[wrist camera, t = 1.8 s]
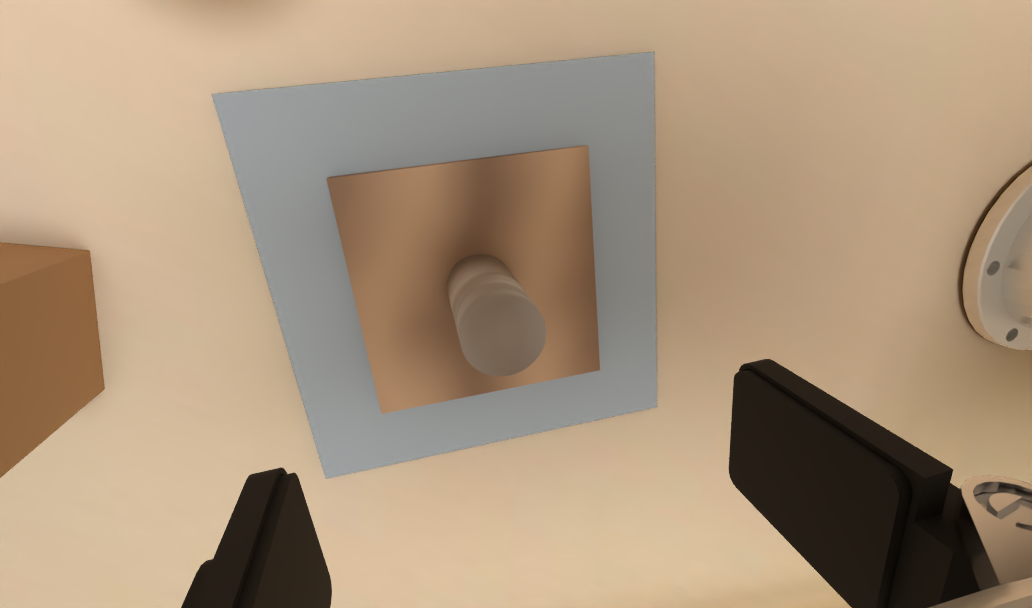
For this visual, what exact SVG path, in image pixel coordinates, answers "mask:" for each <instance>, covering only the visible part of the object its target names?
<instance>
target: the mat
mask: <svg viewBox="0 0 1032 608" xmlns="http://www.w3.org/2000/svg"><path fill="white" fill-rule="evenodd" d="M212 97H213V101H214V104H215V107H216V111H217V114H218V117H219V121H220V124H221V128H222V131H223V134H224V138H225V141H226V144H227V148H228V151H229V154H230V158H231V161H232V165H233V168H234V171H235V175H236V178H237V181H238V185H239V188H240V192H241V195H242V198H243V202H244V205H245V208H246V212H247V215H248V218H249V222H250V225H251V229H252V232H253V235H254V239H255V242H256V245H257V249H258V252H259V256H260V259H261V262H262V266H263V269H264V272H265V276H266V279H267V282H268V286H269V289H270V293H271V296H272V299H273V303H274V306H275V309H276V313H277V316H278V320H279V323H280V326H281V330H282V333H283V336H284V340H285V343H286V347H287V350H288V353H289V357H290V360H291V363H292V367H293V370H294V373H295V377H296V380H297V384H298V387H299V390H300V394H301V397H302V400H303V404H304V407H305V411H306V414H307V417H308V421H309V424H310V427H311V431H312V434H313V437H314V441H315V444H316V448H317V451H318V454H319V458H320V461H321V464H322V468H323V471H324V475H325V478H326V479H328V478H332V477H337V476H342V475H346V474H351V473H355V472H360V471H365V470H369V469H374V468H378V467H383V466H388V465H392V464H397V463H402V462H406V461H411V460H415V459H420V458H425V457H429V456H434V455H438V454H443V453H448V452H452V451H457V450H462V449H466V448H471V447H475V446H480V445H485V444H489V443H494V442H499V441H503V440H508V439H512V438H517V437H522V436H526V435H531V434H535V433H540V432H545V431H549V430H554V429H559V428H563V427H568V426H572V425H577V424H582V423H586V422H591V421H595V420H600V419H605V418H609V417H614V416H619V415H623V414H628V413H632V412H637V411H642V410H646V409H651V408H655V407H657V354H656V210H655V67H654V52H647V53H636V54H626V55H616V56H605V57H595V58H584V59H574V60H563V61H553V62H542V63H532V64H522V65H511V66H501V67H490V68H480V69H469V70H459V71H449V72H438V73H428V74H417V75H407V76H396V77H386V78H376V79H365V80H355V81H344V82H334V83H323V84H313V85H302V86H292V87H282V88H271V89H261V90H250V91H240V92H229V93H219V94H212ZM581 145H585V146H589V165H590V185H591V204H592V223H593V242H594V261H595V281H596V300H597V319H598V338H599V357H600V370H599V371H594V372H589V373H584V374H579V375H574V376H569V377H564V378H559V379H554V380H549V381H544V382H539V383H534V384H529V385H524V386H519V387H514V388H509V389H504V390H499V391H494V392H489V393H484V394H479V395H474V396H469V397H464V398H459V399H454V400H449V401H444V402H439V403H434V404H429V405H424V406H419V407H414V408H409V409H404V410H399V411H394V412H389V413H384V414H381V410H380V405H379V401H378V397H377V393H376V388H375V384H374V380H373V375H372V371H371V367H370V363H369V358H368V354H367V350H366V346H365V341H364V337H363V333H362V329H361V324H360V320H359V316H358V312H357V307H356V303H355V299H354V295H353V290H352V286H351V282H350V277H349V273H348V269H347V265H346V260H345V256H344V252H343V248H342V243H341V239H340V235H339V231H338V226H337V222H336V218H335V214H334V209H333V205H332V201H331V197H330V192H329V188H328V184H327V180H326V178H328V177H332V176H340V175H348V174H356V173H364V172H372V171H380V170H388V169H396V168H404V167H412V166H420V165H428V164H436V163H444V162H452V161H461V160H469V159H477V158H485V157H493V156H501V155H509V154H517V153H525V152H533V151H541V150H549V149H557V148H565V147H573V146H581Z"/></svg>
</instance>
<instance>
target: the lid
mask: <svg viewBox="0 0 1032 608" xmlns="http://www.w3.org/2000/svg"><path fill="white" fill-rule="evenodd" d="M326 180H327V184H328V188H329V192H330V197H331V201H332V205H333V209H334V214H335V218H336V222H337V226H338V231H339V235H340V239H341V243H342V248H343V252H344V256H345V260H346V265H347V269H348V273H349V277H350V282H351V286H352V290H353V295H354V299H355V303H356V307H357V312H358V316H359V320H360V324H361V329H362V333H363V337H364V341H365V346H366V350H367V354H368V358H369V363H370V367H371V371H372V375H373V380H374V384H375V388H376V393H377V397H378V401H379V405H380V410H381V414H384V413H389V412H394V411H399V410H404V409H409V408H414V407H419V406H424V405H429V404H434V403H439V402H444V401H449V400H454V399H459V398H464V397H469V396H474V395H479V394H484V393H489V392H494V391H499V390H504V389H509V388H514V387H519V386H524V385H529V384H534V383H539V382H544V381H549V380H554V379H559V378H564V377H569V376H574V375H579V374H584V373H589V372H594V371H599V370H600V357H599V338H598V319H597V300H596V281H595V261H594V242H593V223H592V204H591V185H590V165H589V146H585V145H581V146H573V147H565V148H557V149H549V150H541V151H533V152H525V153H517V154H509V155H501V156H493V157H485V158H477V159H469V160H461V161H452V162H444V163H436V164H428V165H420V166H412V167H404V168H396V169H388V170H380V171H372V172H364V173H356V174H348V175H340V176H332V177H328V178H326Z"/></svg>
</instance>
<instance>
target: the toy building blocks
mask: <svg viewBox="0 0 1032 608" xmlns="http://www.w3.org/2000/svg"><path fill="white" fill-rule="evenodd" d="M104 389H105V388H104V379H103V369H102V360H101V351H100V341H99V332H98V322H97V313H96V304H95V294H94V285H93V275H92V266H91V257H90V251H89V250H78V249H67V248H55V247H44V246H33V245H22V244H11V243H0V478H1V477H2V476H3V475H4V474H5V473H7V472H8V471H9V470H10V469H11V468H12V467H14V466H15V465H16V464H17V463H18V462H19V461H21V460H22V459H23V458H24V457H25V456H27V455H28V454H29V453H30V452H31V451H32V450H34V449H35V448H36V447H37V446H38V445H39V444H41V443H42V442H43V441H44V440H45V439H46V438H48V437H49V436H50V435H51V434H52V433H53V432H55V431H56V430H57V429H58V428H59V427H60V426H62V425H63V424H64V423H65V422H66V421H68V420H69V419H70V418H71V417H72V416H73V415H75V414H76V413H77V412H78V411H79V410H80V409H82V408H83V407H84V406H85V405H86V404H87V403H89V402H90V401H91V400H92V399H93V398H94V397H96V396H97V395H98V394H99V393H100V392H101V391H103V390H104Z"/></svg>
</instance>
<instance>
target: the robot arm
mask: <svg viewBox="0 0 1032 608" xmlns="http://www.w3.org/2000/svg"><path fill="white" fill-rule="evenodd" d="M962 290H963V301H964V307H965V310H966V313H967V316H968V320H969V321H970V323H971V324H972V326H973V327H974V329H975V330H976V332H978V333H979V334H980V335H981V336H982V337H984V338H985V339H987V340H989V341H992V342H994V343H997V344H999V345H1002V346H1004V347H1008V348H1012V349H1016V350H1032V166H1031V167H1030V168H1028V169H1027V170H1026V171H1025V172H1023V173H1022V174H1021V175H1020V176H1018V177H1017V178H1016V179H1015V181H1014V182H1013V183H1012V184H1011V185H1010V186H1009V187H1008V188H1007V189H1006V190H1005V191H1004V192H1003V193H1002V194H1001V196H1000V197H999V198H998V200H997V201H996V202H995V204H994V205H993V207H992V208H991V209H990V211H989V212H988V214H987V215H986V217H985V219H984V221H983V222H982V224H981V226H980V228H979V229H978V231H977V234H976V236H975V238H974V241H973V243H972V246H971V248H970V250H969V254H968V258H967V262H966V265H965V269H964V277H963V287H962ZM952 473H953V469H951V468H950V467H948V466H947V465H945V464H943V463H942V462H940V461H938V460H937V459H935V458H933V457H932V456H930V455H928V454H927V453H925V452H923V451H922V450H920V449H918V448H917V447H915V446H913V445H912V444H910V443H908V442H907V441H905V440H904V439H902V438H900V437H899V436H897V435H895V434H894V433H892V432H890V431H889V430H887V429H885V428H884V427H882V426H880V425H879V424H877V423H875V422H874V421H872V420H870V419H869V418H867V417H865V416H864V415H862V414H860V413H859V412H857V411H856V410H854V409H852V408H851V407H849V406H847V405H846V404H844V403H842V402H841V401H839V400H837V399H836V398H834V397H832V396H831V395H829V394H827V393H826V392H824V391H822V390H821V389H819V388H817V387H816V386H814V385H813V384H811V383H809V382H808V381H806V380H804V379H803V378H801V377H799V376H798V375H796V374H794V373H793V372H791V371H789V370H788V369H786V368H784V367H783V366H781V365H779V364H778V363H776V362H774V361H773V360H770V359H764V360H760V361H755V362H751V363H746V364H743V365H742V366H741V367H740V369H739V372H737V373H736V374H735V376H734V387H733V404H732V422H731V439H730V457H729V474H730V478H731V480H732V482H733V484H734V485H735V487H736V488H737V489H738V490H739V491H740V492H741V493H742V494H743V495H744V496H745V497H746V498H747V499H748V500H749V501H750V502H751V503H752V504H753V506H754V507H755V508H756V509H757V510H758V511H759V512H760V513H761V514H762V515H763V516H764V517H765V518H766V519H767V520H768V521H769V522H770V523H771V524H772V525H773V526H774V527H775V528H776V529H777V530H778V531H779V533H780V534H781V535H782V536H783V537H784V538H785V539H786V540H787V541H788V542H789V543H790V544H791V545H792V546H793V547H794V548H795V549H796V550H797V551H798V552H799V553H800V554H801V555H802V556H803V557H804V559H805V560H806V561H807V562H808V563H809V564H810V565H811V566H812V567H813V568H814V569H815V570H816V571H817V572H818V573H819V574H820V575H821V576H822V577H823V578H824V579H825V580H826V581H827V582H828V583H829V584H830V586H831V587H832V588H833V589H834V590H835V591H836V592H837V593H838V594H839V595H840V596H841V597H842V598H843V599H844V600H845V601H846V602H847V603H848V604H849V605H850V606H851V607H852V608H1032V485H1031V484H1029V483H1026V482H1023V481H1019V480H1015V479H1011V478H1007V477H1000V476H990V475H986V476H975V477H972V478H970V479H967V480H965V482H964V483H963V484H962V486H961V489H959V488H957V487H956V486H954V485H952V484H951V483H950V480H951V476H952ZM331 596H332V587H331V579H330V575H329V572H328V569H327V565H326V562H325V559H324V556H323V553H322V550H321V547H320V544H319V541H318V538H317V534H316V531H315V528H314V525H313V522H312V519H311V516H310V513H309V510H308V506H307V503H306V500H305V497H304V494H303V491H302V488H301V485H300V482H299V479H298V476H297V475H296V473H291V474H287V472H286V471H285V469H284V468H278V469H273V470H269V471H264V472H260V473H255V474H251V475H249V476H248V478H247V480H246V482H245V485H244V487H243V489H242V492H241V494H240V496H239V499H238V501H237V504H236V506H235V508H234V511H233V513H232V515H231V518H230V520H229V523H228V525H227V527H226V530H225V532H224V535H223V537H222V539H221V542H220V544H219V546H218V549H217V551H216V554H215V556H214V558H213V559H212V560H208V561H206V562H205V563H203V564H202V565H201V566H200V568H199V570H198V572H197V573H196V575H195V578H194V580H193V582H192V584H191V587H190V589H189V591H188V593H187V596H186V598H185V600H184V602H183V605H182V607H181V608H330V605H331Z"/></svg>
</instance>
